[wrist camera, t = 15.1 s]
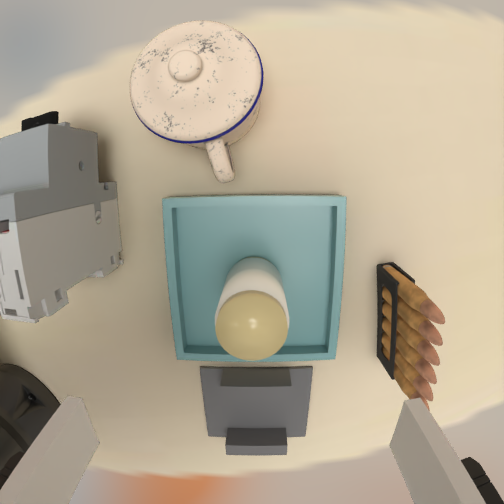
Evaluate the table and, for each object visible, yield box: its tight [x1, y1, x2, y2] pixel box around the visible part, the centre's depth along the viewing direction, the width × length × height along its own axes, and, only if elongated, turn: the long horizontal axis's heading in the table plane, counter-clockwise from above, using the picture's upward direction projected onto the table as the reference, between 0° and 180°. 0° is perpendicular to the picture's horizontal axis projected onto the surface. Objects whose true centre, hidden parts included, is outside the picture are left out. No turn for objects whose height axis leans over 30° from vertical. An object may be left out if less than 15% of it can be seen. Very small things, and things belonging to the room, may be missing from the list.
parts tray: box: [162, 194, 346, 362], centre depth 29 cm, size 16×16×2 cm
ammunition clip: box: [377, 262, 445, 411], centre depth 25 cm, size 11×2×12 cm, turn 8°
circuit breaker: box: [0, 111, 124, 323], centre depth 22 cm, size 8×14×15 cm, turn 2°
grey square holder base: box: [200, 366, 313, 455], centre depth 33 cm, size 12×11×4 cm
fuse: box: [215, 256, 289, 361], centre depth 25 cm, size 5×5×10 cm
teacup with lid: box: [130, 20, 263, 183], centre depth 22 cm, size 12×9×12 cm
